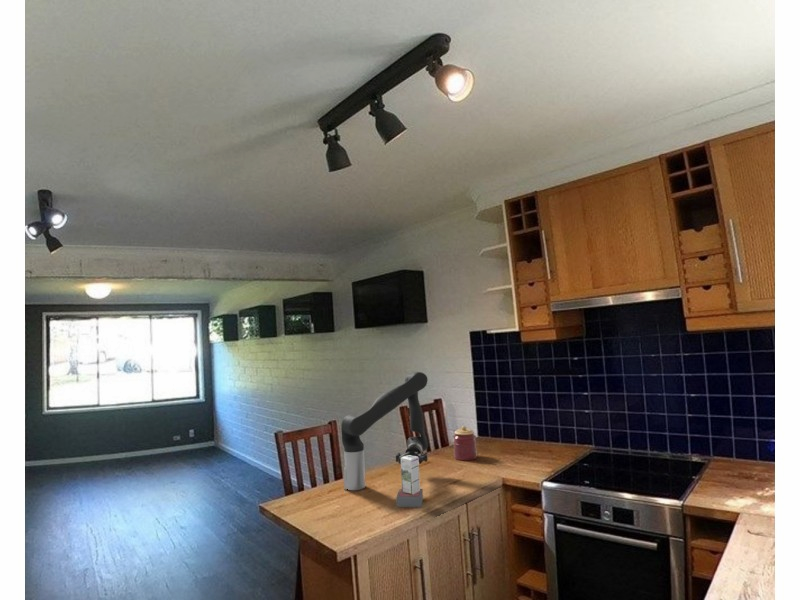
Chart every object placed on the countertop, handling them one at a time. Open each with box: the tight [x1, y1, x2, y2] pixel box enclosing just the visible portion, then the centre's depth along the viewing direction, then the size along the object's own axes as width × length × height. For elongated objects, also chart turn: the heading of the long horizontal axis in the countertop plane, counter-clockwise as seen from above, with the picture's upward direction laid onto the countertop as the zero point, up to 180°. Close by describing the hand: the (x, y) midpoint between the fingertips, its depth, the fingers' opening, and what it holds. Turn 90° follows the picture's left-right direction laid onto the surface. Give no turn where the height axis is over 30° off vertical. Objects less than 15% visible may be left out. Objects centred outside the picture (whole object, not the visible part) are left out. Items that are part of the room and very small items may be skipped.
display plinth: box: [396, 488, 424, 508], centre depth 192 cm, size 10×10×4 cm
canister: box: [452, 425, 478, 461], centre depth 257 cm, size 13×13×18 cm
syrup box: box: [400, 455, 421, 495], centre depth 193 cm, size 6×6×14 cm
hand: (410, 461), depth 199 cm, fingers open, 8 cm apart
